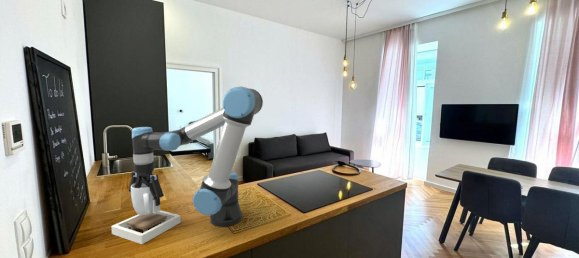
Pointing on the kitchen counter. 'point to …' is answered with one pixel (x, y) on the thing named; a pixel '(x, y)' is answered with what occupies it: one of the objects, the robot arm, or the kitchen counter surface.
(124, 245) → the kitchen counter surface
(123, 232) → the face frame
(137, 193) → the mug
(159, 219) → the brown piece
